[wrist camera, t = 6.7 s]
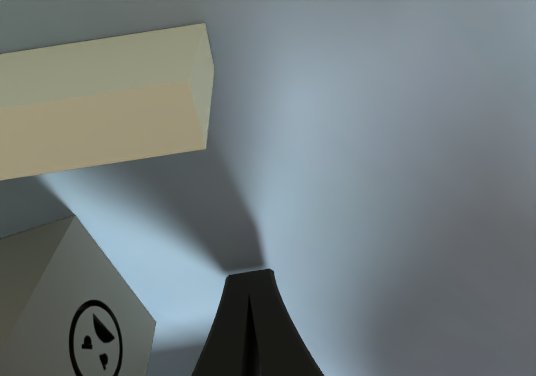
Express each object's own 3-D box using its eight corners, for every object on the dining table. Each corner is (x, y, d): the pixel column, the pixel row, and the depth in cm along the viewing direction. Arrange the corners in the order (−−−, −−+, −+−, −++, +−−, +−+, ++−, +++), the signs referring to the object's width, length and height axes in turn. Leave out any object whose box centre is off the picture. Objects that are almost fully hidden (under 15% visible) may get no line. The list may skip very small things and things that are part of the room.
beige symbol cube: (76, 213, 11) (-20, 388, 7) (156, 320, 14) (124, 492, 9) (-79, 262, 11) (-259, 453, 7) (29, 356, 14) (-56, 534, 10)
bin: (280, 393, 17) (293, 508, 13) (15, 434, 17) (-39, 560, 13) (205, 23, 8) (189, 81, 5) (-325, 103, 8) (-697, 216, 5)
